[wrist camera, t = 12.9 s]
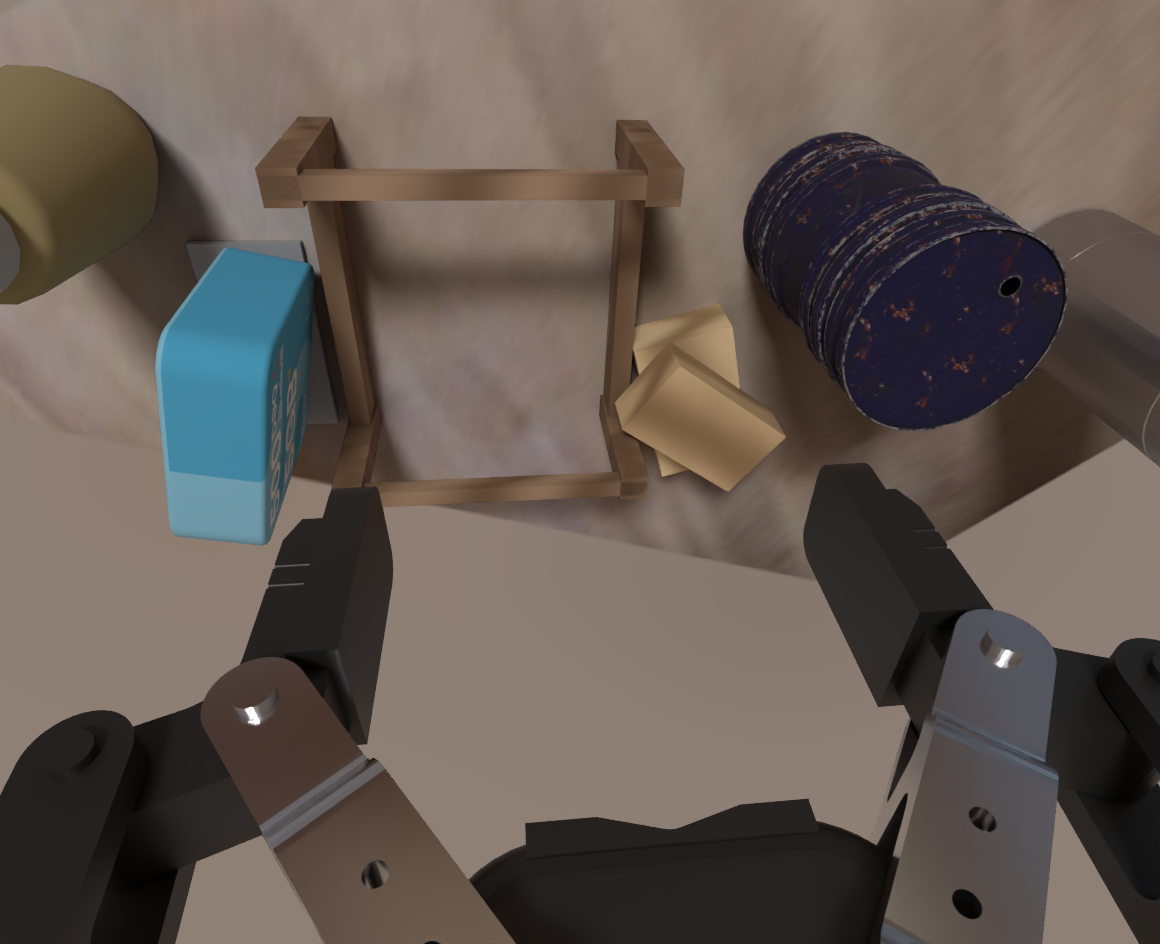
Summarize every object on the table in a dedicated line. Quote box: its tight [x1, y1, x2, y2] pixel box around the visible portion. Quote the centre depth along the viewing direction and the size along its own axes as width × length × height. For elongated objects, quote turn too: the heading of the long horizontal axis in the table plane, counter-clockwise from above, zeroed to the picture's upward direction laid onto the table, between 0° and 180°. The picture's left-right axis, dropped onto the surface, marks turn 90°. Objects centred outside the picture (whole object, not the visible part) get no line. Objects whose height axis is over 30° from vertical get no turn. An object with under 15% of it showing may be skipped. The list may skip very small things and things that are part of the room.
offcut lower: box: [632, 304, 740, 477], centre depth 47 cm, size 6×10×4 cm, turn 14°
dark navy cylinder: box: [743, 132, 1068, 431], centre depth 37 cm, size 10×10×15 cm
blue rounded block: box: [155, 247, 314, 545], centre depth 38 cm, size 12×4×12 cm, turn 165°
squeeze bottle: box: [0, 65, 158, 304], centre depth 29 cm, size 8×8×18 cm
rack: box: [255, 117, 685, 507], centre depth 39 cm, size 18×19×9 cm
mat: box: [186, 241, 339, 425], centre depth 43 cm, size 6×12×1 cm, turn 178°
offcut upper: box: [615, 341, 786, 492], centre depth 45 cm, size 5×9×3 cm, turn 53°
